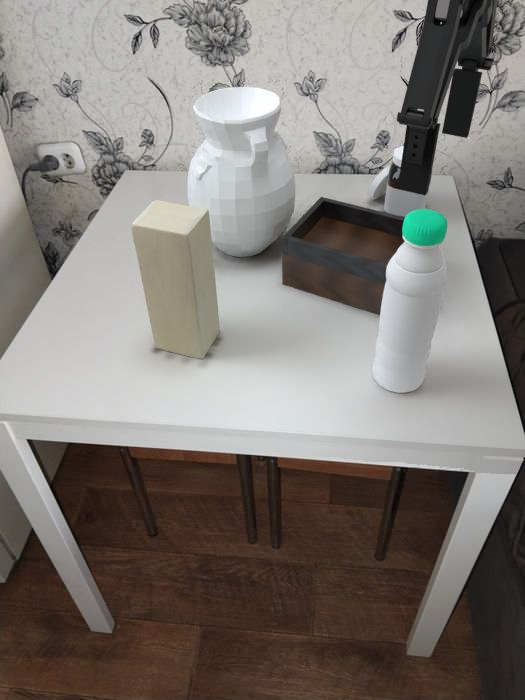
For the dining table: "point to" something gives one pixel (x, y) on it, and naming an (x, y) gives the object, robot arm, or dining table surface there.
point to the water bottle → (411, 303)
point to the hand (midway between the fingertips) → (435, 160)
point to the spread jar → (396, 189)
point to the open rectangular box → (341, 252)
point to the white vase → (242, 170)
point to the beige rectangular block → (178, 276)
